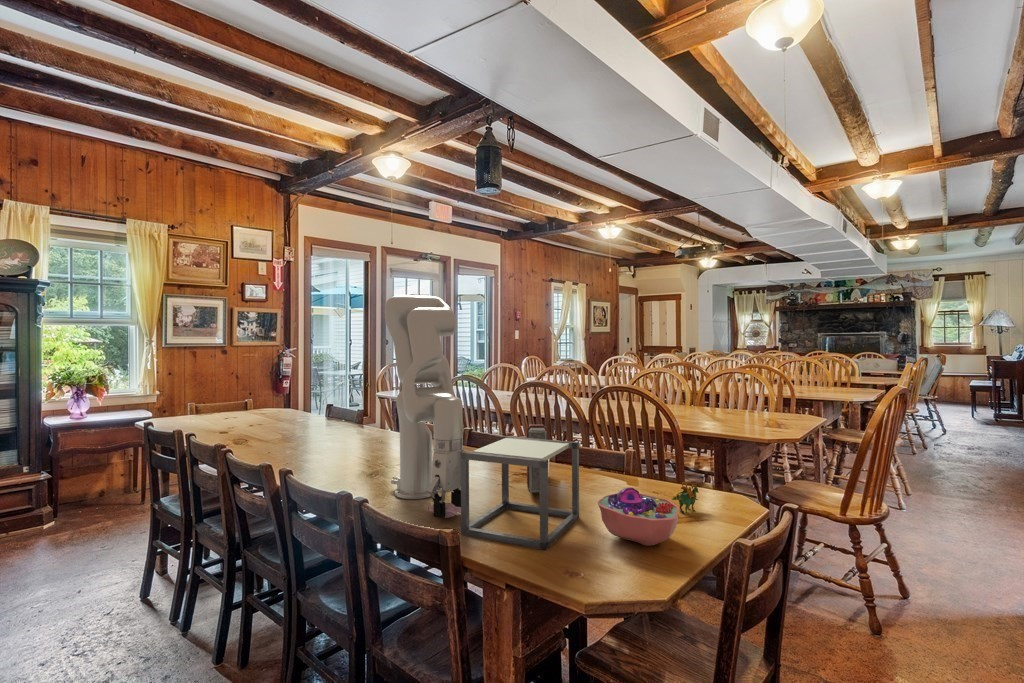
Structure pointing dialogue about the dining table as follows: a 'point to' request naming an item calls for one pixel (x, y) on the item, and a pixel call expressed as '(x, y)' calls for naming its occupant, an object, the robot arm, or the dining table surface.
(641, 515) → the cell model
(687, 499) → the figurine
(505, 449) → the trapdoor plate
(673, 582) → the dining table surface
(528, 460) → the frame
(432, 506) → the rabbit figure
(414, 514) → the dining table surface
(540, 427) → the decorative stone tablet
